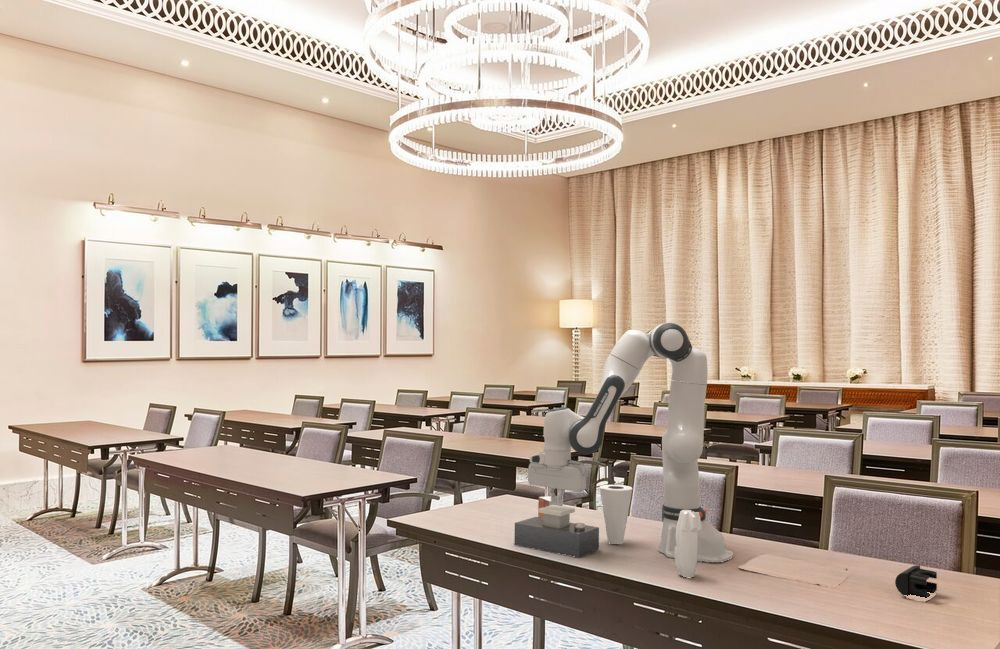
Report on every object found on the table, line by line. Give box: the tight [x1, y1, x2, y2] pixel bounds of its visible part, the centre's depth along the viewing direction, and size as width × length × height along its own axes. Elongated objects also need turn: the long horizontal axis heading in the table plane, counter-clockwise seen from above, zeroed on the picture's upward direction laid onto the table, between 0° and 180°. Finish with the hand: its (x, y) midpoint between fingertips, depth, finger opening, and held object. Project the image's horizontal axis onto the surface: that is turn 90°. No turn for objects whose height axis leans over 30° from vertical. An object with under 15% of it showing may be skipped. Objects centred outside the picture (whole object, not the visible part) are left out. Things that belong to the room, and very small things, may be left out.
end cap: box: [894, 565, 938, 598], centre depth 192 cm, size 10×7×7 cm
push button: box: [537, 505, 576, 529], centre depth 236 cm, size 8×8×7 cm
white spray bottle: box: [674, 510, 702, 578], centre depth 207 cm, size 7×18×7 cm
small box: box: [537, 495, 564, 518], centre depth 262 cm, size 8×6×10 cm
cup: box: [599, 484, 633, 545], centre depth 243 cm, size 11×11×18 cm
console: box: [513, 516, 600, 559], centre depth 236 cm, size 24×12×9 cm, turn 53°
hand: (556, 502), depth 236 cm, fingers closed
